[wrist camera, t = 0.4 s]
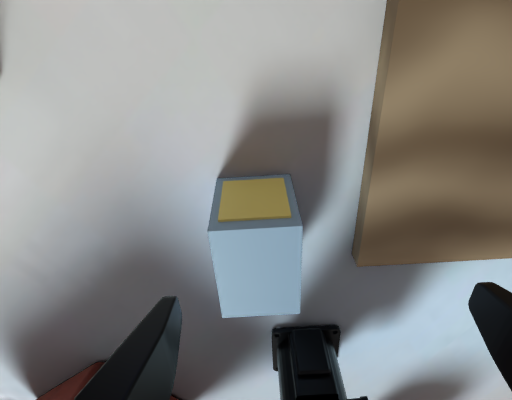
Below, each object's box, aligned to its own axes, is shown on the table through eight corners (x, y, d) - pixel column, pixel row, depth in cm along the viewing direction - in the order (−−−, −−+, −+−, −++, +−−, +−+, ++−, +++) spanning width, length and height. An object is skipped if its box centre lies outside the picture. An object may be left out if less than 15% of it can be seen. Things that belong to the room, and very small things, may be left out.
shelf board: (554, 242, 25) (582, 264, 23) (351, 253, 25) (361, 276, 23) (714, -38, 16) (787, -45, 14) (389, -17, 16) (411, -20, 14)
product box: (289, 251, 25) (300, 313, 20) (227, 254, 25) (222, 318, 20) (289, 171, 22) (302, 223, 16) (216, 175, 22) (207, 229, 17)
